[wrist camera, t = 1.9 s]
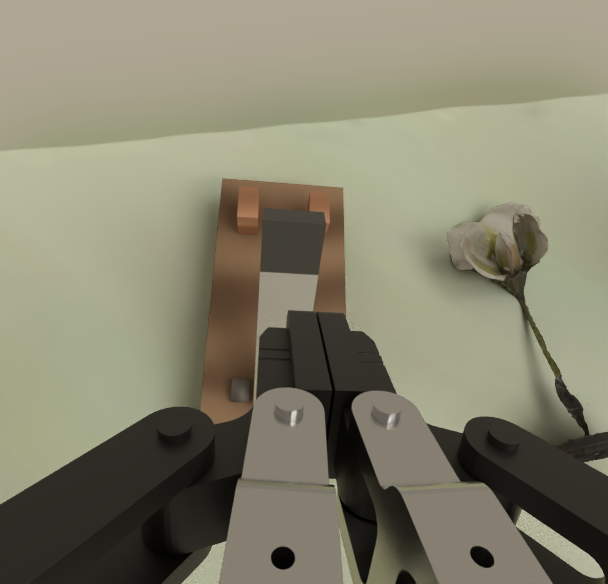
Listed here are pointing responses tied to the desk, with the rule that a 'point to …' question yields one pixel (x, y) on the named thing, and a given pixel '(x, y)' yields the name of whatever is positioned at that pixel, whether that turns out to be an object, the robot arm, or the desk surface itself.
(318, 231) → the lever
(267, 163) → the desk surface
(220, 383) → the lever base
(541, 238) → the artificial flower
